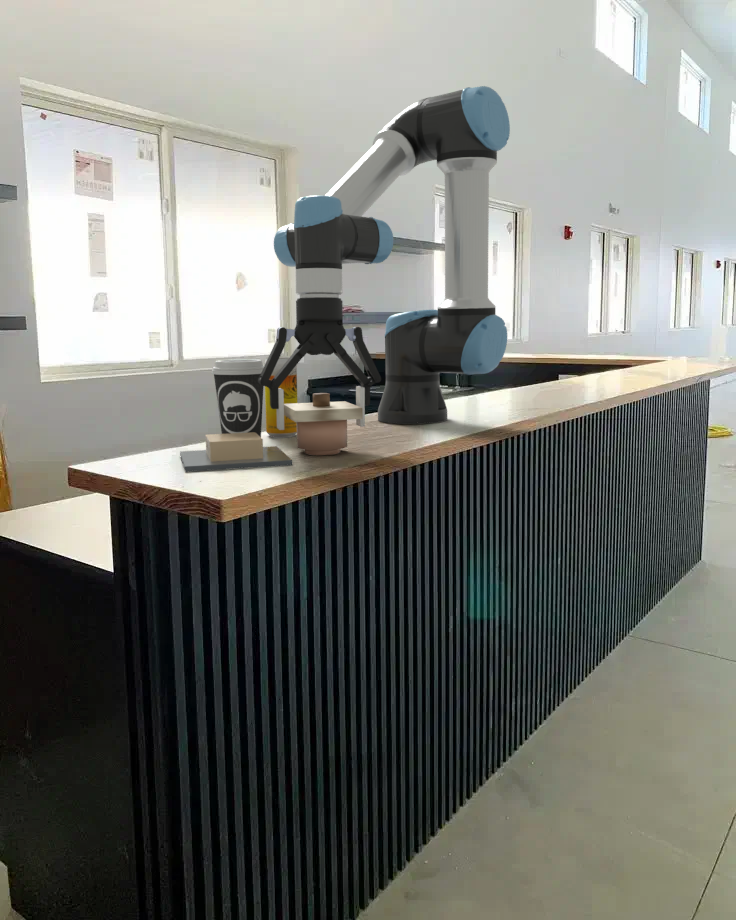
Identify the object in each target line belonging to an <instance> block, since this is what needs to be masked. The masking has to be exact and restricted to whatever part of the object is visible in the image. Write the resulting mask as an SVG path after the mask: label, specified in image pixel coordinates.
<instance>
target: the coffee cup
mask: <svg viewBox="0 0 736 920" xmlns="http://www.w3.org/2000/svg"><path fill="white" fill-rule="evenodd" d="M263 368H264V362H263V361H262V360H261V359H249V358H248V359H222V360H221V359H219V360H215V363H214V366H213V367H212V369H211V372H210V374H211V375H213V378H214V379H213V380H214V384H215V386H214V387H215V392H216V398H217V399H216V400H217V408H218V415H219V423H220V431H221V434H229V433H249V432H255V433H257V434H258V435H259V436H260V437H261V438H262V425H263V424H262V422H263V404H264V403H263V402H264V388H265V386H263V385H261V384H259V383H258V379H259V377H260V375H261V372H262V370H263Z"/></svg>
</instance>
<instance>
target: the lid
mask: <svg viewBox="0 0 736 920" xmlns="http://www.w3.org/2000/svg"><path fill="white" fill-rule="evenodd" d="M330 395H331V394H330V392H329V393H327V392H315V393H312V402H298V403H291V404H284V415H285V416H286V417H288V418H290V419H291V420H293V421H294V422H311V421H332V420H347V421H349V420H352V421H353V420H356V419H363V413H362V408H361V407H359V406H356V404H353V403H350V402H349V401H345V400H344V401H343V400H342V401H330V400H331V398H330Z"/></svg>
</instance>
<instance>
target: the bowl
mask: <svg viewBox="0 0 736 920" xmlns="http://www.w3.org/2000/svg"><path fill="white" fill-rule="evenodd" d="M296 423H297V433H296V447H297V449H300V450H303V451H304V454H305V455H310V456H329V455H330V456H331V455H333V456H334V455H337V454H340V453H341V449H345V448H347V447H348V420H332V421H311V422H296Z"/></svg>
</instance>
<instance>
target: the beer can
mask: <svg viewBox="0 0 736 920" xmlns="http://www.w3.org/2000/svg"><path fill="white" fill-rule="evenodd" d="M290 356H291V355H285V356H284V355H283V356H281V355H280V357H279V359H278V362H277V364H276V366H275V368H274V370H273V372H272V375H271V377H270V379H269V380H272V379H273V378H274V376H275V375H276V374H277V373H278V371H279V370H280V369H281V368H282V366H283V365H284V364H285V363H286V361H287V360H288V359H289V358H290ZM268 357H269V356H265V361H264V362H263V366H265V364H266V362H267V359H268ZM297 365H298V364H297ZM297 365H296V366H295V367H294V369H293V370H292V371H291V372H290V374H289V375H288V376H287V377H286V379H285V380H284V381H283V382H282V384H281V385H280V386H279V387H278V389H280V388H281V389H283V392H284V404H291V403H299V402H298V373H297V372H298V370H297ZM264 399H265V400H264V401H265V428H266V429H265V430H266V431H265V433H267V434H268V436H269V437H270V438H279V439H280V438H281V439H282V438H291V437H295V436H296V437H297V423H296V422H294V421H293V420H291V419H290V418H288V417H286V416H285V415H284V430H279V429H278V428H277V409H272V408H271V406H270V390H269V388H268V387H266V386H264Z"/></svg>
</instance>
